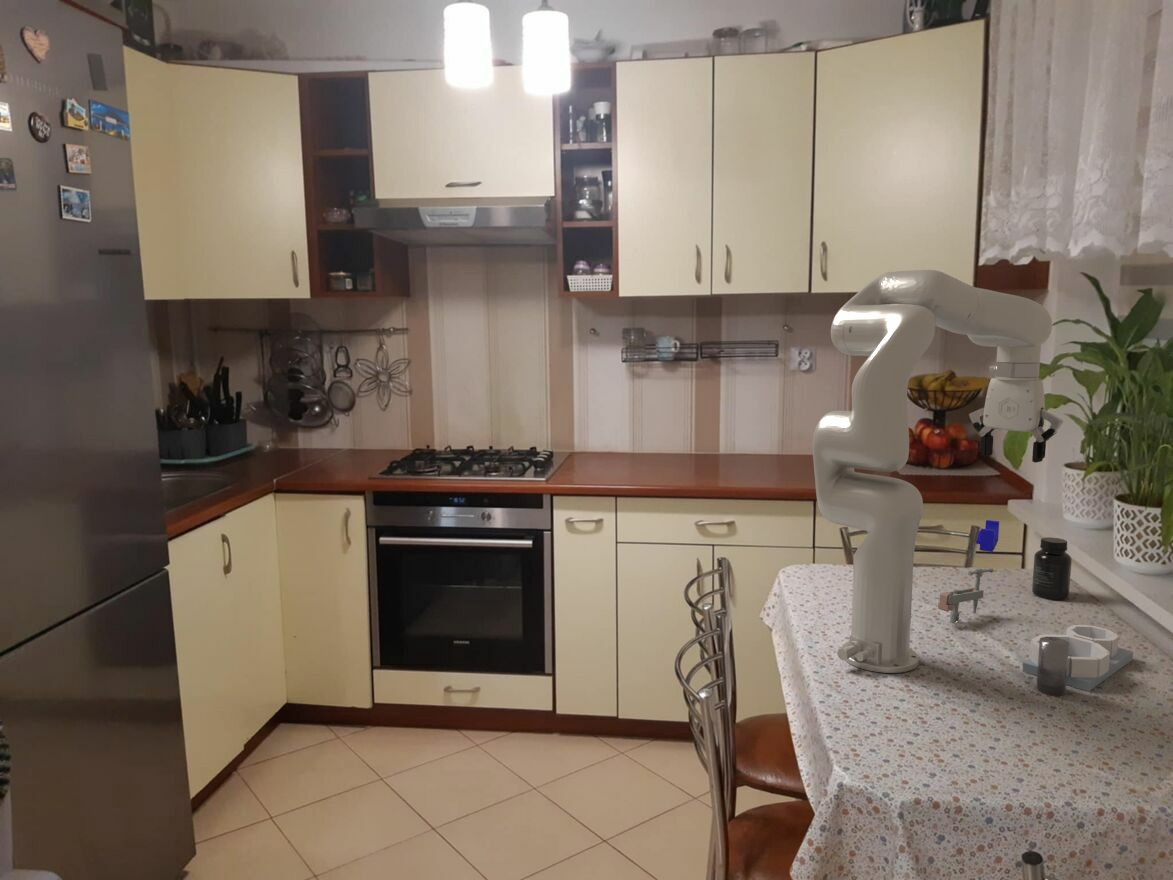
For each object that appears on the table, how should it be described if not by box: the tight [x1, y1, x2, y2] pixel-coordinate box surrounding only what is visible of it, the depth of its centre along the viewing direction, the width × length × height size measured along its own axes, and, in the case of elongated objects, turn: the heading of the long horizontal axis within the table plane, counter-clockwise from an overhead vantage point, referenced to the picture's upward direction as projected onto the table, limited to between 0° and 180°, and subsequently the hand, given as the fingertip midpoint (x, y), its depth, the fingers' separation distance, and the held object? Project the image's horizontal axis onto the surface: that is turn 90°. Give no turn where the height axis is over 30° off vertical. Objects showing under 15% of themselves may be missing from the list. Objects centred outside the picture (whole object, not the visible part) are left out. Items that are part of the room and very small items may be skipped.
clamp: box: [937, 567, 995, 623], centre depth 162 cm, size 15×2×10 cm, turn 123°
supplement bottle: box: [1031, 536, 1072, 601], centre depth 175 cm, size 7×7×12 cm
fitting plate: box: [1022, 624, 1134, 692], centre depth 140 cm, size 19×11×4 cm, turn 130°
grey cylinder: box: [1035, 637, 1069, 697], centre depth 131 cm, size 4×4×8 cm
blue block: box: [975, 519, 1000, 553], centre depth 213 cm, size 12×4×6 cm, turn 148°
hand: (1011, 458), depth 165 cm, fingers open, 9 cm apart
